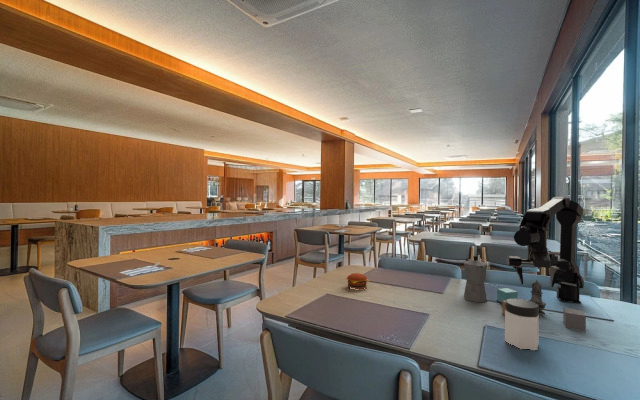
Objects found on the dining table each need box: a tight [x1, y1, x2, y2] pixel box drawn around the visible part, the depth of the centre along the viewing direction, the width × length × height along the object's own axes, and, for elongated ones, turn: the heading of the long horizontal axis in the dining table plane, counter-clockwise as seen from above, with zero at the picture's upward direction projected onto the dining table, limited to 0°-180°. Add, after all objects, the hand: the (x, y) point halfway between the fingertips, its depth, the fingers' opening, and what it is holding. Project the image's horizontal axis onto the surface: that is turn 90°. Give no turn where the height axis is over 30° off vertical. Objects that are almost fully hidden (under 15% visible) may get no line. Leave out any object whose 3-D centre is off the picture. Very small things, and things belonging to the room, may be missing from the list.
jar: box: [504, 298, 540, 351], centre depth 88 cm, size 9×8×12 cm
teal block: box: [496, 287, 519, 304], centre depth 122 cm, size 5×5×5 cm
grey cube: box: [562, 307, 587, 332], centre depth 100 cm, size 5×5×5 cm
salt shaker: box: [527, 280, 547, 316], centre depth 112 cm, size 6×6×12 cm
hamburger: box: [344, 272, 370, 290], centre depth 143 cm, size 9×10×7 cm
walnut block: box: [501, 300, 506, 316], centre depth 108 cm, size 5×5×5 cm
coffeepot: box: [463, 255, 488, 303], centre depth 128 cm, size 15×9×18 cm, turn 176°
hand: (536, 285), depth 112 cm, fingers open, 9 cm apart
